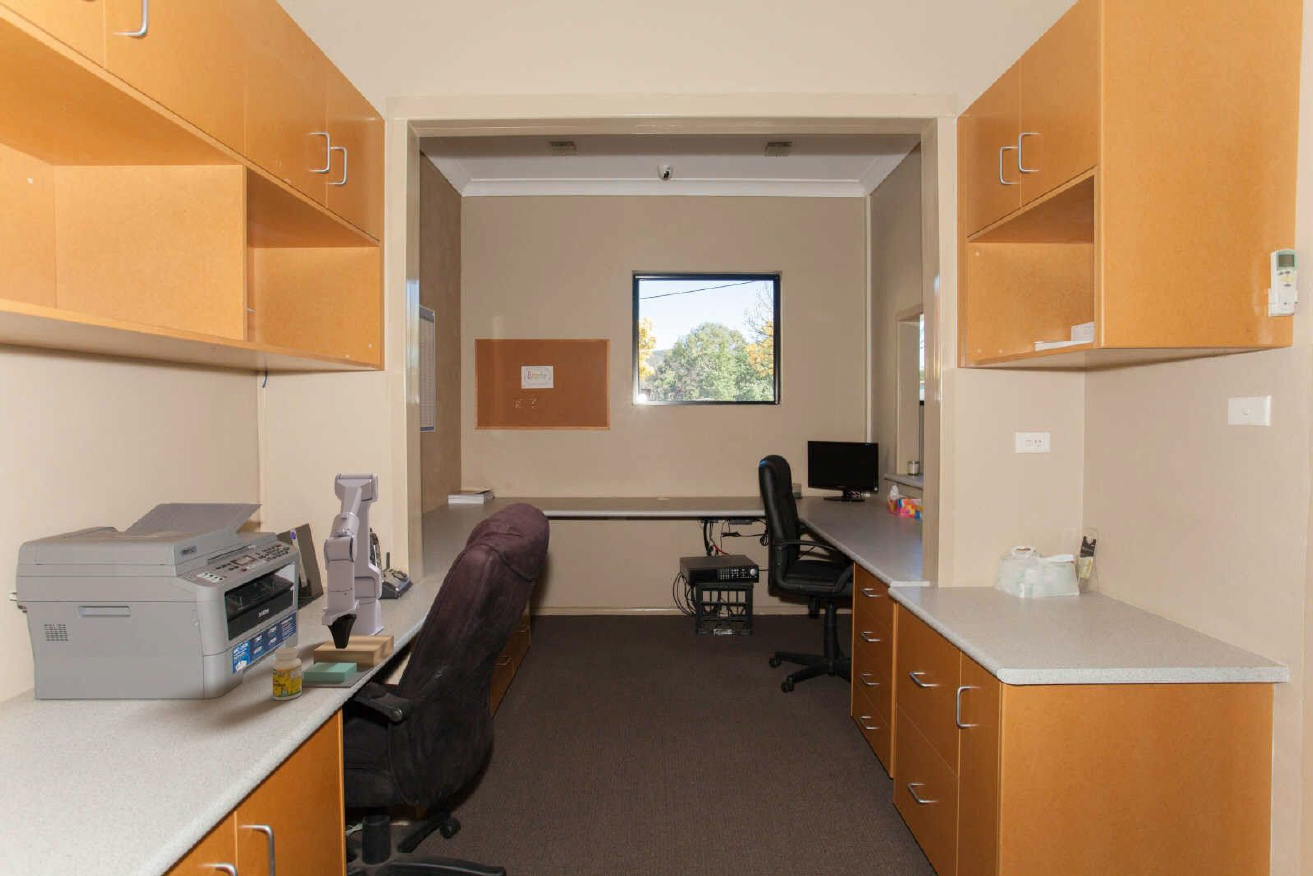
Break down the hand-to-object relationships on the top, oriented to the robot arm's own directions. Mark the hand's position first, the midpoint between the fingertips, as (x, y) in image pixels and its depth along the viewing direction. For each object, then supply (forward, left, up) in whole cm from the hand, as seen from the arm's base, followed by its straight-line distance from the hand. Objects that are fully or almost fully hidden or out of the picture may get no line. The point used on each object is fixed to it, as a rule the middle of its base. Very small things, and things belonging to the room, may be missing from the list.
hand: (341, 647), depth 166 cm
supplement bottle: (+16, -4, -5) cm, 17 cm away
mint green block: (+5, 0, -3) cm, 6 cm away
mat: (+5, 0, -5) cm, 7 cm away
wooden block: (-7, 0, -5) cm, 9 cm away
